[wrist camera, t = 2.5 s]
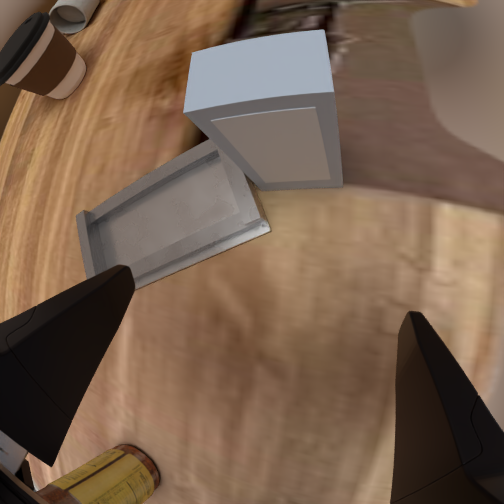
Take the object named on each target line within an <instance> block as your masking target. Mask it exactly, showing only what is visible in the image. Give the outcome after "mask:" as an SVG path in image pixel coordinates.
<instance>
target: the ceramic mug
mask: <svg viewBox="0 0 504 504" xmlns="http://www.w3.org/2000/svg"><path fill="white" fill-rule="evenodd" d="M99 2H100V0H59V1H58V2H57V3H56V4H55V6H54V7H53V8H52V9H51V11H50V13H49V16H50V20H49V22H50V23H51V24H52V25H53V26H55V27H56V28H57V29H58V30H59V31H60V32H61V33H62V34H64V33H77V32H79V31H81V30H83V29H84V28H85V27H86V25H87V23H88V22H89V20H90V18H91V16H92V14H93V12H94V11H95V9H96V7H97V6H98V4H99Z"/></svg>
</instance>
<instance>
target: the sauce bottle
mask: <svg viewBox="0 0 504 504" xmlns="http://www.w3.org/2000/svg"><path fill="white" fill-rule="evenodd" d="M158 484H159V476H158V472H157V469H156V467H155V466H154V464H153V462H152V460H150V459H149V458H148V457H147V456H146V455H144V454H143V453H142V452H141V451H139V450H138V449H136V448H134V447H132V446H129V445H120V446H116V447H114V448H113V449H110V450H107V451H106V452H104V453H102V454H101V455H99V456H97V457H96V458H94V459H92V460H91V461H89V462H87V463H86V464H84V465H82V466H81V467H79V468H77V469H75V470H73V471H72V472H70V473H68V474H66V475H64V476H63V477H61V478H59V479H57V480H55V481H53V482H52V483H50V484H48V485H47V486H46V487H45V488H43V489H41V490H39V491H37V492H35V493H36V494H37V495H39V496H40V497H41V498H42V499H44V500H45V501H46V502H48V503H49V504H142V503H143V502H145V501H146V500H147V499H148V498H149V497H150V496H151V495H152V494H153V491H154V490H155V489H156V488H157V486H158Z"/></svg>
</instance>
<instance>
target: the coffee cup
mask: <svg viewBox="0 0 504 504" xmlns="http://www.w3.org/2000/svg"><path fill="white" fill-rule="evenodd" d="M49 20H50V16H49V14H48V13H47V12H45V13H41V12H38V13H34V14H33V15H31V16H30V17H29V18H28V19H26V20H25V21H24V22H23V23H22V24H21V26H20V27H19V28H18V29H17V30H16V31H15V32H14V34H13V35H12V36H11V37H10V38H9V40H8V41H7V43H6V44H5V46H4V47H3V49H2V50H1V52H0V86H1V85H2V84H4V83H8V84H10V85H11V86H14V87H17V88H20V89H23V90H27V91H30V92H33V93H36V94H39V95H42V96H44V95H46V96H49V97H52V98H55V99H63V98H66V97H68V96H69V95H70V94H71V93H73V91H74V90H75V89H76V88H77V87H78V86H79V84H80V83H81V81H82V80H83V77H84V75H85V73H86V65H85V62H84V60H83V59H82V58H81V57H80V56H79V54H78V53H77V52H76V50H75V48H74V47H73V46H72V45H71V44H70V42H69V41H68V40H67V39H66V38H65V37H64V36H63V35H62V33H61V32H60V31H59V30H58V29H57V28H56V27H55V26H53V25H52V24H51V23H50V22H49Z"/></svg>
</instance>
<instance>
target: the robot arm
mask: <svg viewBox="0 0 504 504" xmlns="http://www.w3.org/2000/svg"><path fill="white" fill-rule="evenodd" d="M134 291H135V281H134V278H133V275H132V271H131V268H130V267H129V266H127V265H122V264H118V265H116V266H114V267H112V268H110V269H108V270H106V271H103V272H101V273H99V274H97V275H95V276H93V277H91V278H89V279H87V280H85V281H83V282H81V283H79V284H77V285H75V286H73V287H71V288H69V289H67V290H65V291H63V292H61V293H59V294H58V295H56V296H54V297H52V298H50V299H48V300H46V301H44V302H42V303H40V304H38V305H37V306H34V307H33V308H31V309H29V310H27V311H25V312H23V313H21V314H19V315H17V316H15V317H13V318H11V319H9V320H6V321H4V322H2V323H0V504H49V503H48V502H46V501H45V500H44V499H42V498H41V497H40V496H39V495H37V494H36V493H35V492H33V490H34V485H33V481H32V476H31V471H30V466H29V462H28V461H27V460H26V459H25V458H26V456H27V454H28V453H31V454H32V455H34V456H35V457H37V458H38V459H39V460H41V461H42V462H44V463H45V464H47V465H49V466H50V467H52V466H53V464H54V462H55V460H56V457H57V455H58V453H59V450H60V448H61V445H62V443H63V441H64V438H65V436H66V434H67V432H68V429H69V427H70V425H71V423H72V421H71V420H73V418H74V416H75V414H76V411H77V409H78V407H79V405H80V403H81V401H82V399H83V396H84V394H85V392H86V390H87V388H88V386H89V384H90V382H91V380H92V378H93V376H94V374H95V372H96V370H97V368H98V366H99V364H100V362H101V360H102V358H103V356H104V354H105V353H106V351H107V349H108V347H109V345H110V343H111V341H112V339H113V337H114V336H115V334H116V332H117V330H118V328H119V326H120V324H121V322H122V319H123V317H124V315H125V312H126V310H127V308H128V305H129V303H130V301H131V298H132V296H133V294H134ZM395 391H396V424H395V452H394V468H393V480H392V491H391V500H390V504H504V432H503V430H502V429H501V428H500V426H499V425H498V423H497V422H496V420H495V419H494V418H493V416H492V414H491V413H490V411H489V410H488V408H487V407H486V405H485V404H484V402H483V400H482V399H481V397H480V396H479V395H478V393H477V391H476V389H475V388H474V386H473V385H472V383H471V382H470V380H469V379H468V377H467V376H466V374H465V373H464V371H463V370H462V368H461V367H460V365H459V364H458V362H457V361H456V359H455V358H454V357H453V355H452V354H451V352H450V351H449V349H448V348H447V347H446V345H445V344H444V342H443V341H442V340H441V338H440V337H439V335H438V334H437V333H436V331H435V330H434V329H433V327H432V326H431V325H430V323H429V322H428V321H427V319H426V318H425V317H424V315H423V314H422V313H421V312H417V311H409V312H408V313H407V314H406V316H405V318H404V321H403V323H402V325H401V328H400V330H399V334H398V350H397V366H396V379H395Z"/></svg>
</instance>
